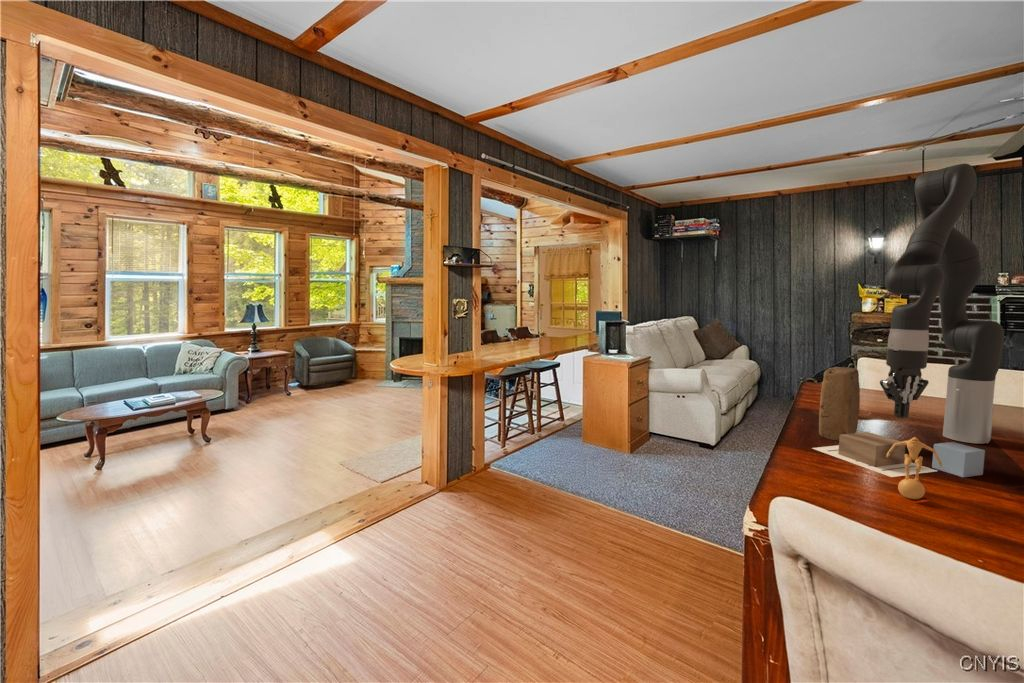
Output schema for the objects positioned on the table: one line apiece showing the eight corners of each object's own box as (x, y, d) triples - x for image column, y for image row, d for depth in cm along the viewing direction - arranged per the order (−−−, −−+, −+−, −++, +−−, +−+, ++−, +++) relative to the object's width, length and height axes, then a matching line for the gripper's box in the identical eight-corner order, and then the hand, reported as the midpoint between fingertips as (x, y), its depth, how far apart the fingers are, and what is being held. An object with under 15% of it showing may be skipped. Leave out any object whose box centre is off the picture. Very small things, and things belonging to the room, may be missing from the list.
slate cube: (950, 466, 107) (952, 441, 106) (982, 476, 101) (985, 450, 100) (931, 469, 105) (933, 444, 105) (962, 479, 99) (965, 452, 99)
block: (846, 444, 122) (851, 371, 120) (814, 437, 128) (819, 368, 126) (860, 437, 129) (866, 367, 127) (830, 431, 135) (834, 364, 133)
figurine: (883, 496, 91) (887, 437, 90) (883, 486, 95) (888, 430, 94) (939, 508, 85) (945, 446, 84) (937, 497, 90) (943, 438, 89)
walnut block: (866, 451, 116) (867, 431, 116) (904, 463, 108) (905, 442, 107) (838, 454, 114) (839, 434, 114) (874, 466, 105) (876, 445, 105)
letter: (852, 444, 122) (853, 443, 122) (938, 472, 103) (938, 470, 103) (810, 449, 119) (811, 447, 119) (891, 478, 100) (891, 476, 100)
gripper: (911, 345, 116) (905, 412, 118) (870, 346, 113) (864, 414, 114) (945, 349, 109) (938, 419, 110) (903, 349, 106) (896, 422, 107)
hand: (900, 417), depth 112 cm, fingers closed
